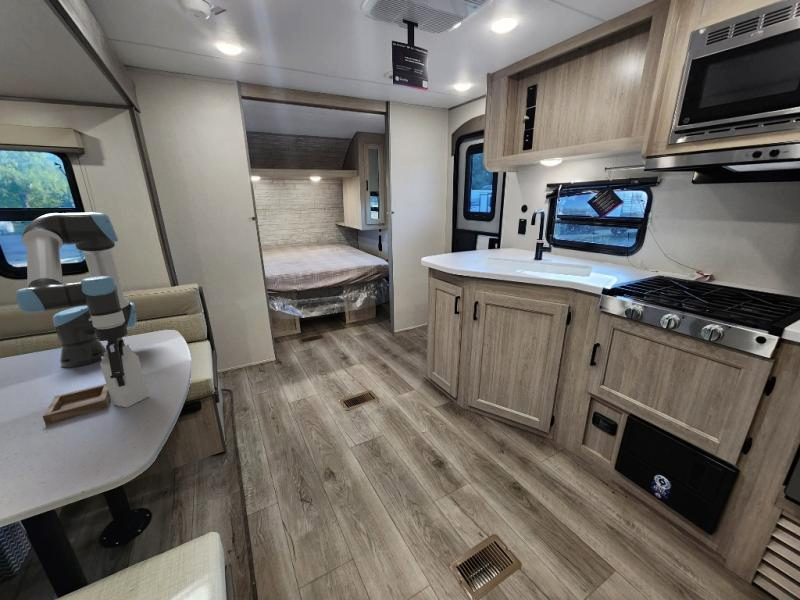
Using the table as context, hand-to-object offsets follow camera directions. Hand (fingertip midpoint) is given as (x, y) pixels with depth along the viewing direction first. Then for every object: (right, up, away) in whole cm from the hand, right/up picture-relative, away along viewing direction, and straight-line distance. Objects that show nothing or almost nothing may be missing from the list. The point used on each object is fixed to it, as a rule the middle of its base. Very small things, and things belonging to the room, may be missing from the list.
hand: (126, 385), depth 107 cm
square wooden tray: (-14, -7, -1) cm, 15 cm away
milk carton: (0, -6, +2) cm, 6 cm away
